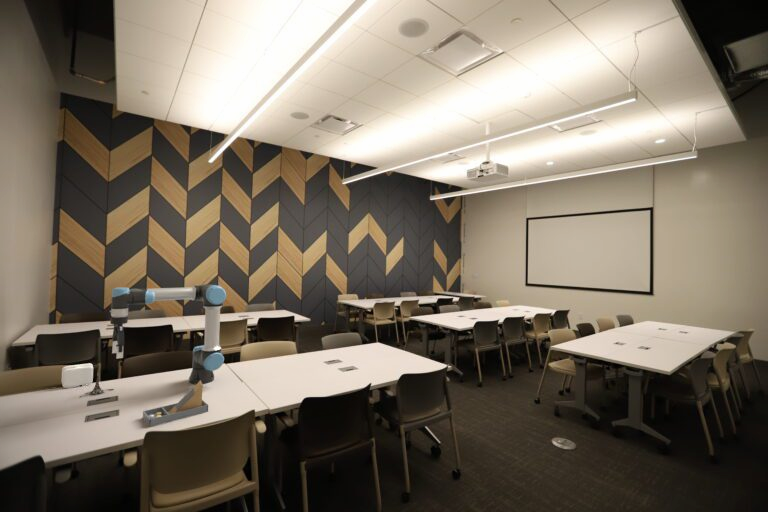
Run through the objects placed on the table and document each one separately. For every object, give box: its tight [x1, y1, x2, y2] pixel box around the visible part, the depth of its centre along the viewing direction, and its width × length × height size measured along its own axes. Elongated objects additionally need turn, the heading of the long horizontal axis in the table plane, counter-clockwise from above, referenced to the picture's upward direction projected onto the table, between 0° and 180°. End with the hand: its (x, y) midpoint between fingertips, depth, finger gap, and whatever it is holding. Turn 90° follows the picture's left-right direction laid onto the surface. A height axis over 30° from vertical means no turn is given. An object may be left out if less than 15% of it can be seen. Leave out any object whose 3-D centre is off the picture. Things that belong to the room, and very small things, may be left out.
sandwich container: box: [168, 380, 204, 414], centre depth 189 cm, size 9×15×15 cm, turn 123°
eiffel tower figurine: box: [79, 372, 115, 399], centre depth 211 cm, size 15×10×13 cm
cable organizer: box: [61, 362, 94, 389], centre depth 223 cm, size 15×11×12 cm
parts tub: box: [142, 399, 209, 428], centre depth 186 cm, size 27×13×4 cm, turn 136°
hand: (117, 355), depth 193 cm, fingers open, 13 cm apart
